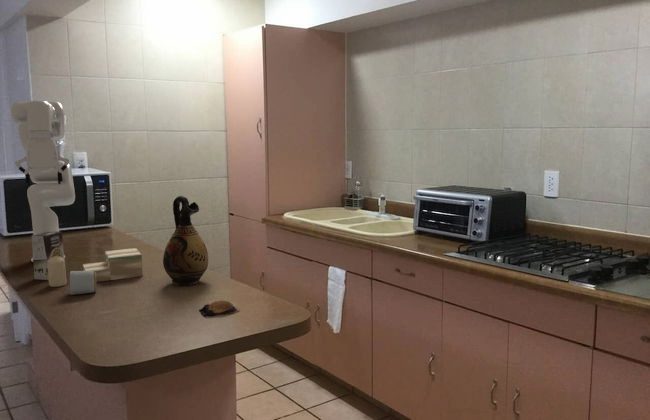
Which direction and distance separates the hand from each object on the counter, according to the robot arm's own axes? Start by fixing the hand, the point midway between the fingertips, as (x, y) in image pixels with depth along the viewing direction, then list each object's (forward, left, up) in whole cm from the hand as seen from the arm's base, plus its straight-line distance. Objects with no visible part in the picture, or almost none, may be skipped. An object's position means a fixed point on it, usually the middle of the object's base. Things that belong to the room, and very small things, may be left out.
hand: (44, 184), depth 204 cm
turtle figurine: (+68, +42, -35) cm, 88 cm away
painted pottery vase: (+31, +41, -34) cm, 62 cm away
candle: (+13, +1, -34) cm, 37 cm away
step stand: (+10, +20, -34) cm, 40 cm away
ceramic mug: (+27, +8, -34) cm, 44 cm away
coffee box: (0, -1, -34) cm, 34 cm away
